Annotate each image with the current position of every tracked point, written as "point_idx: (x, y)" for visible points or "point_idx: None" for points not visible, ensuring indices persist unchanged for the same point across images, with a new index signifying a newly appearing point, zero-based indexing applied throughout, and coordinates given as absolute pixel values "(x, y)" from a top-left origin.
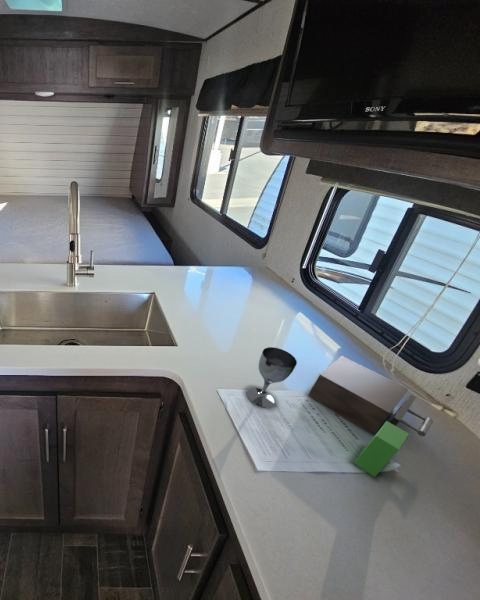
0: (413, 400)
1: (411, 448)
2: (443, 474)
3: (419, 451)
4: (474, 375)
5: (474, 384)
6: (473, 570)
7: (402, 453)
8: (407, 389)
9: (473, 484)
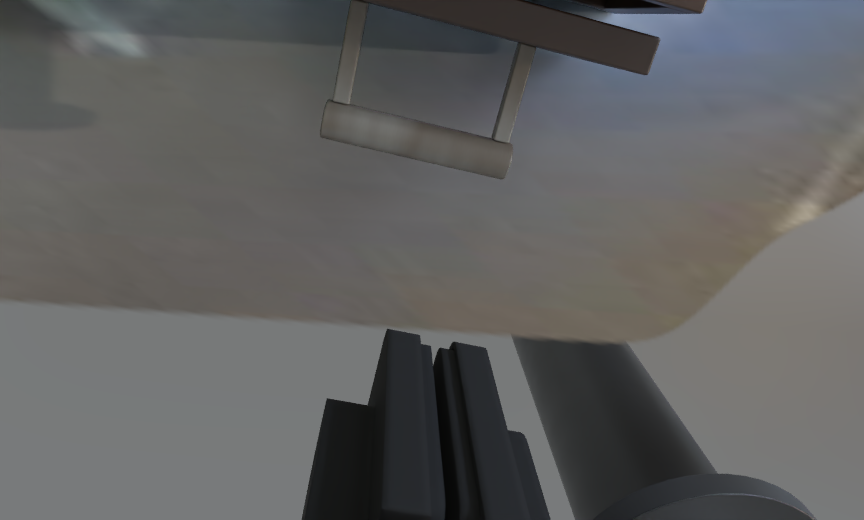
0: (586, 56)
1: None
2: (252, 227)
3: (334, 142)
4: (475, 453)
5: (372, 420)
6: None
7: (244, 69)
8: (684, 5)
9: (292, 320)
